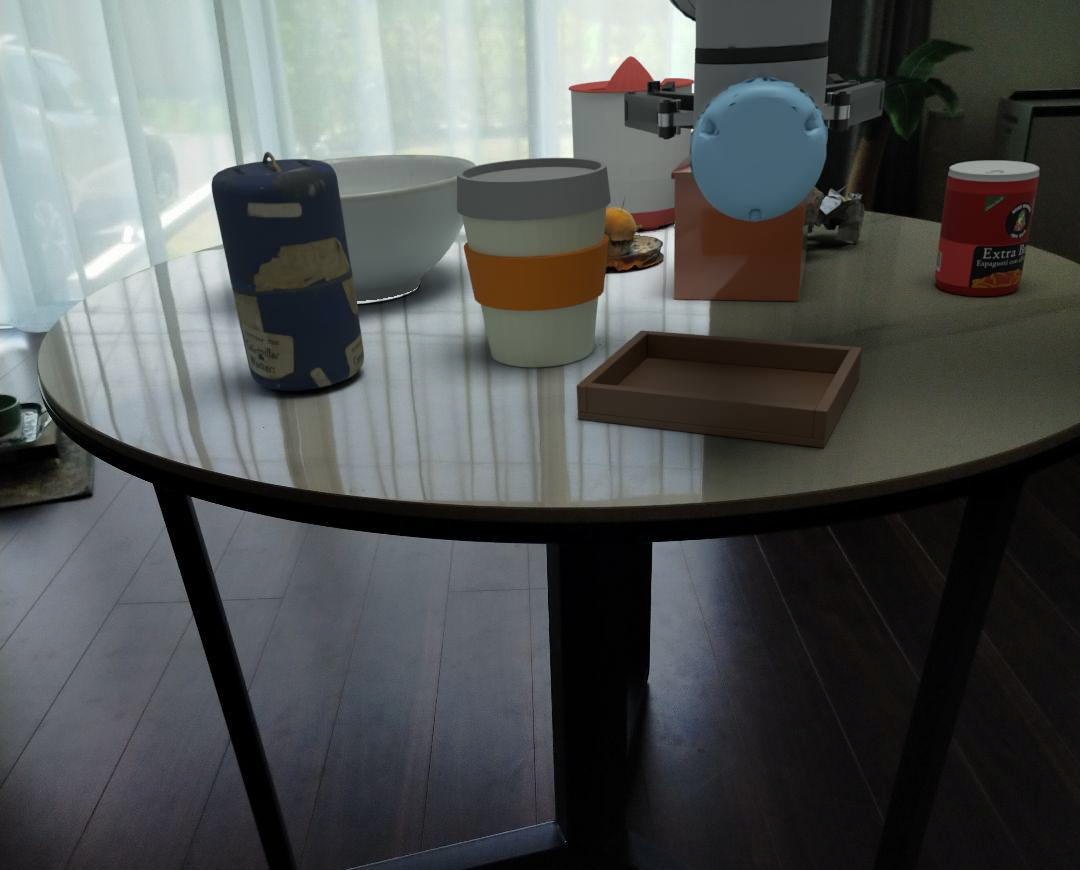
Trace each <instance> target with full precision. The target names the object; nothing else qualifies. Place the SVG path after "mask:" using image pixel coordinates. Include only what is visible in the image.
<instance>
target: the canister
mask: <svg viewBox="0 0 1080 870" xmlns="http://www.w3.org/2000/svg"><path fill="white" fill-rule="evenodd" d="M268 158H269V159H270V160H268ZM318 160H319V159H310V158H308V159H307V158H289V159H275V157H274V155H273V154H272V152H270V151H265V152H264V154H263V157H262V161H255V162H248V163H242V164H238V165H233V166H229V167H226V168H224V169H222V170H220V171H218V172H216V173H215V174H214V175H213V177H212V180H211V193H212V199H213V204H214V209H215V212H216V217H217V223H218V228H219V231H220V236H221V240H222V247H223V252H224V255H225V256H224V257H225V260H226V265H227V266H226V267H227V270H228V275H229V281H230V285H231V288H232V293H233V298H234V304H235V308H236V312H237V317H238V323H239V327H240V332H241V336H242V341H243V345H244V350H245V351H244V352H245V355H246V360H247V365H248V368H249V373H250V375H251V376H252V379H253V380H254V381H255V382H256V383H257V384H258V385H260V386H263V387H265V388H268V389H271V390H276V391H288V392H290V391H291V392H292V391H307V390H314V389H319V388H324V387H328V386H332V385H335V384H338V383H341V382H343V381H345V380H347V379H349V378H351V377H353V376H354V375H356V374H357V373H358V372H359V371H360V370H361V369H362V367H363V365H364V361H365V350H364V344H363V343H364V342H363V335H362V328H361V323H360V322H361V321H360V316H359V315H360V314H359V305H357V299H356V293H355V286H354V280H353V274H352V269H351V264H350V258H349V252H348V246H347V239H346V232H345V226H344V219H343V212H342V206H341V200H340V194H339V187H338V180H337V176H336V173H335V171H334V169H333V168H332V167H331V166H330V165H329V164H327V163H325V162H322V161H318Z"/></svg>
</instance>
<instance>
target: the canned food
mask: <svg viewBox="0 0 1080 870" xmlns="http://www.w3.org/2000/svg"><path fill="white" fill-rule="evenodd" d="M948 170H949V171H948V173H947V180H946V185H945V192H944V199H943V207H942V215H941V224H940V231H939V238H938V239H939V240H938V247H937V256H936V263H935V273H934V279H935V285H936V287H937V288H938V289H940V290H942V291H944V292H946V293H950V294H954V295H959V296H967V297H998V296H1004V295H1008V294H1011V293H1013V292H1015V291H1016V290H1017V288H1018V286H1019V284H1020V282H1021V280H1022V276H1023V270H1024V265H1025V260H1026V259H1025V258H1026V253H1027V247H1028V242H1029V236H1030V232H1031V231H1030V230H1031V225H1032V220H1033V214H1034V208H1035V204H1036V203H1035V202H1036V197H1037V192H1038V184H1039V178H1040V167H1039V166H1038V165H1037V164H1034V163H1029V162H1024V161H1016V160H1015V161H1014V160H996V159H995V160H991V159H990V160H972V161H964V162H958V163H955V164H952V165H950V166H949V169H948Z"/></svg>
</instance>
